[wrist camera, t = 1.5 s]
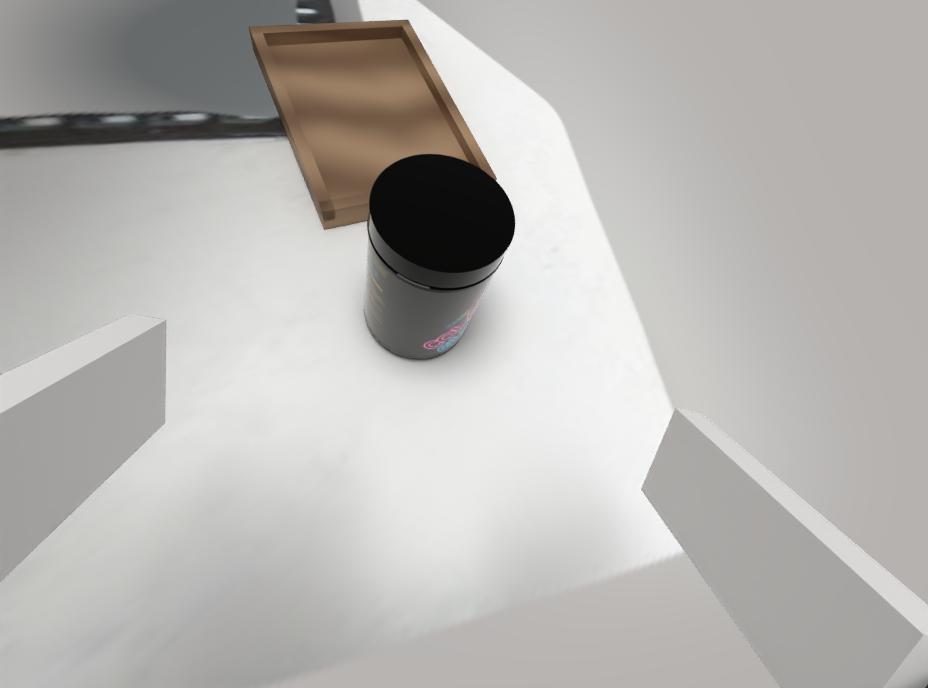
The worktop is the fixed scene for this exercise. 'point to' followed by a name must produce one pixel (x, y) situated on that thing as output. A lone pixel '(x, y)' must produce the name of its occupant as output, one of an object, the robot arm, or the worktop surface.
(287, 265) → the worktop surface
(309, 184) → the tray
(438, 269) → the supplement container
